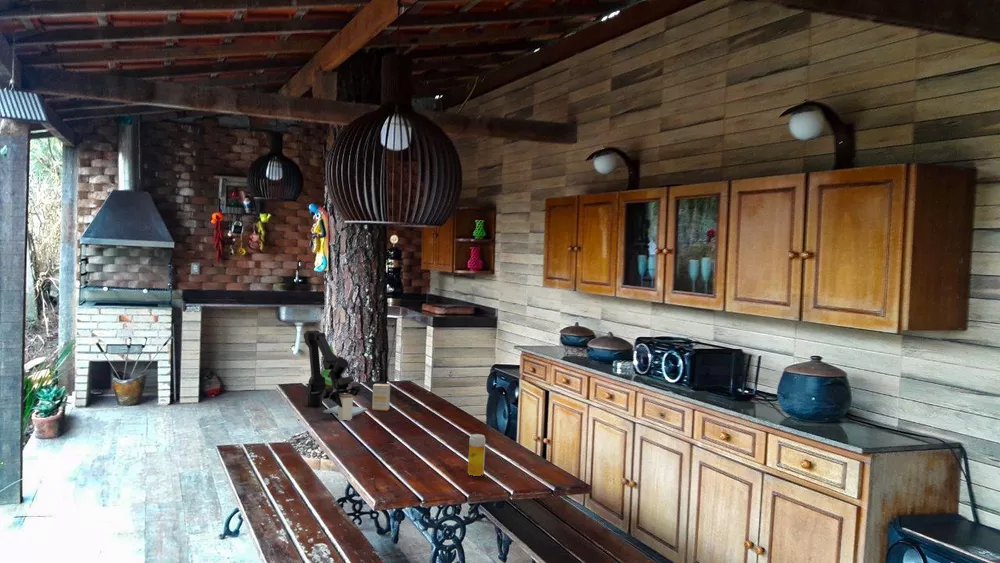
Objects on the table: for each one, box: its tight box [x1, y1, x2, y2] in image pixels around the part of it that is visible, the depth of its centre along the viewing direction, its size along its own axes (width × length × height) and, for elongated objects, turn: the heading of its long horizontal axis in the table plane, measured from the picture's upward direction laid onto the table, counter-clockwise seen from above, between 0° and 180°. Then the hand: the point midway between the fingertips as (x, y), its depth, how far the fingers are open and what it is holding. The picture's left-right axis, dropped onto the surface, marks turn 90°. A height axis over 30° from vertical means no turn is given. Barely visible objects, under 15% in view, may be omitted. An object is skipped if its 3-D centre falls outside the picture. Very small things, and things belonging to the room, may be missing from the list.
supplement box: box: [371, 383, 391, 412], centre depth 375 cm, size 8×5×13 cm, turn 84°
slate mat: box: [323, 405, 369, 417], centre depth 367 cm, size 16×16×1 cm
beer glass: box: [467, 433, 487, 477], centre depth 274 cm, size 6×6×15 cm
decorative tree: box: [321, 342, 335, 389], centre depth 406 cm, size 14×16×30 cm
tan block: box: [337, 393, 354, 421], centre depth 350 cm, size 5×5×12 cm
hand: (346, 406), depth 349 cm, fingers open, 5 cm apart
